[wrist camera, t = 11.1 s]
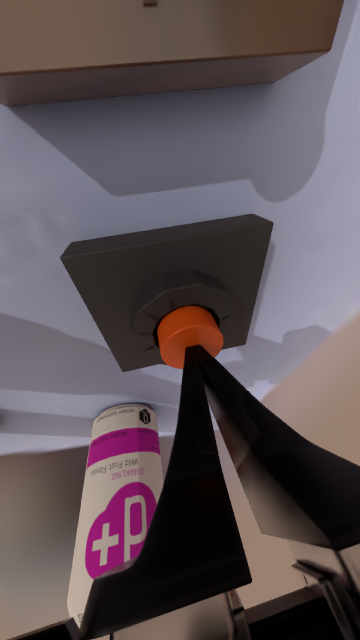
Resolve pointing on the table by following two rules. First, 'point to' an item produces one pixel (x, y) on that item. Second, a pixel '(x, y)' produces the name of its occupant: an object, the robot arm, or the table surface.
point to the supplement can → (115, 496)
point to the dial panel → (154, 45)
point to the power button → (187, 334)
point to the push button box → (170, 281)
